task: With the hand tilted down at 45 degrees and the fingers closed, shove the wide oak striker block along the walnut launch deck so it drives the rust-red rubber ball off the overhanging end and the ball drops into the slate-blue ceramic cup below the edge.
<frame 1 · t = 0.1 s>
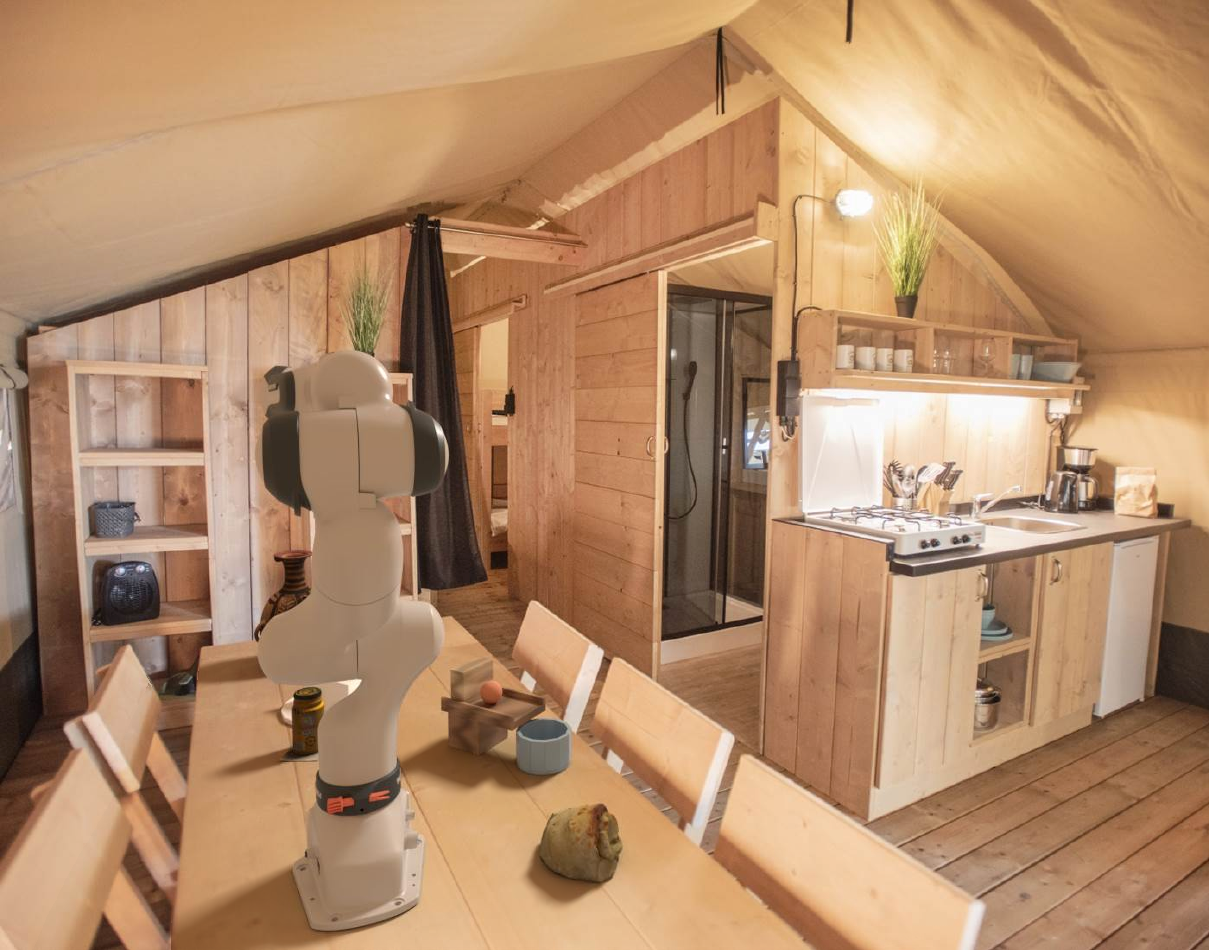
hand: (345, 516, 131), 48 cm above the table, tool pointing down, fingers open, 8 cm apart
pastry: (580, 857, 107), on the table
condiment: (306, 752, 140), on the table
cup: (544, 761, 136), on the table
vase: (297, 662, 190), on the table
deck: (493, 746, 142), on the table
ball: (491, 692, 141), point 11 cm above the table, touching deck
dish: (340, 707, 162), on the table
striker: (472, 697, 144), point 9 cm above the table, touching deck
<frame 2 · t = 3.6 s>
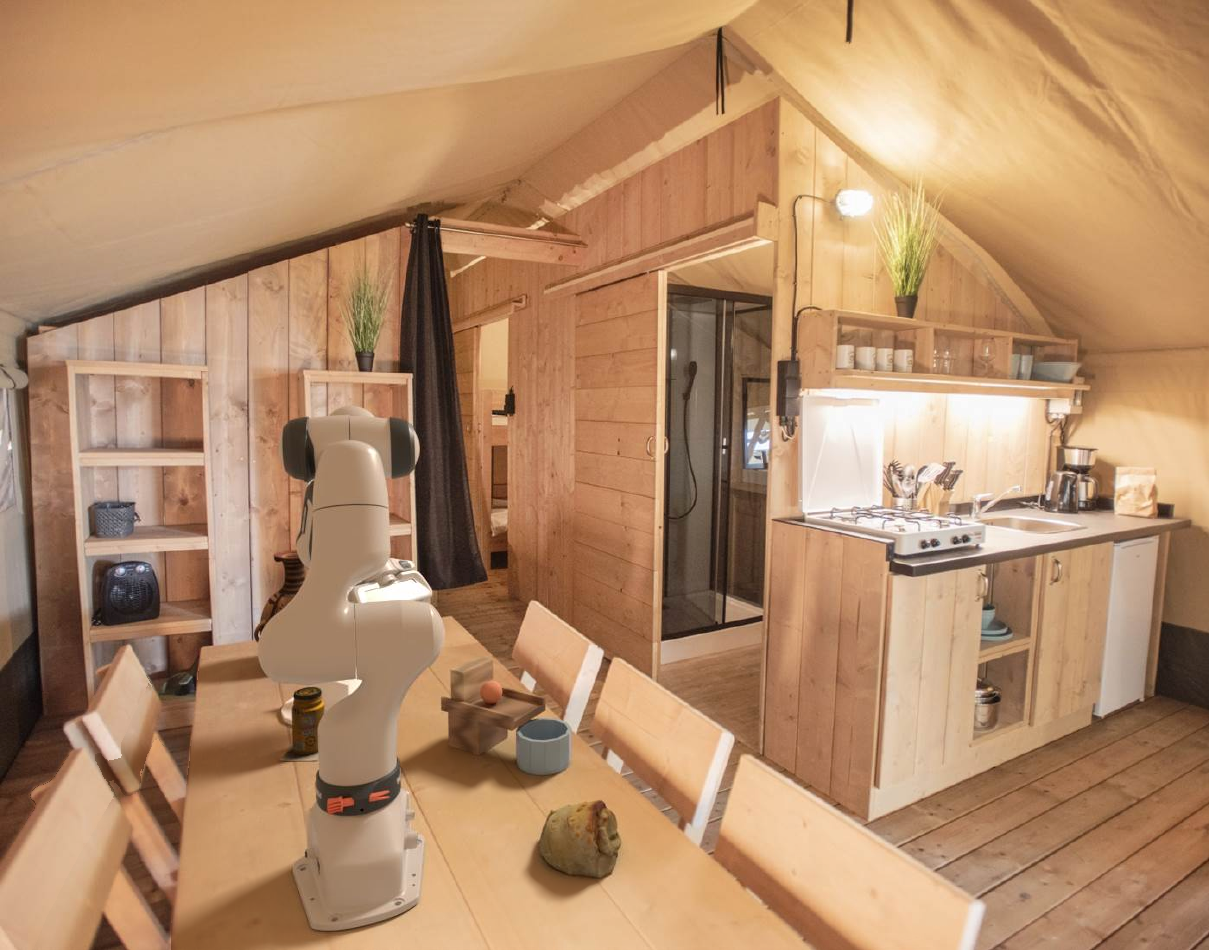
hand: (409, 626, 152), 21 cm above the table, tool tilted 45°, fingers closed
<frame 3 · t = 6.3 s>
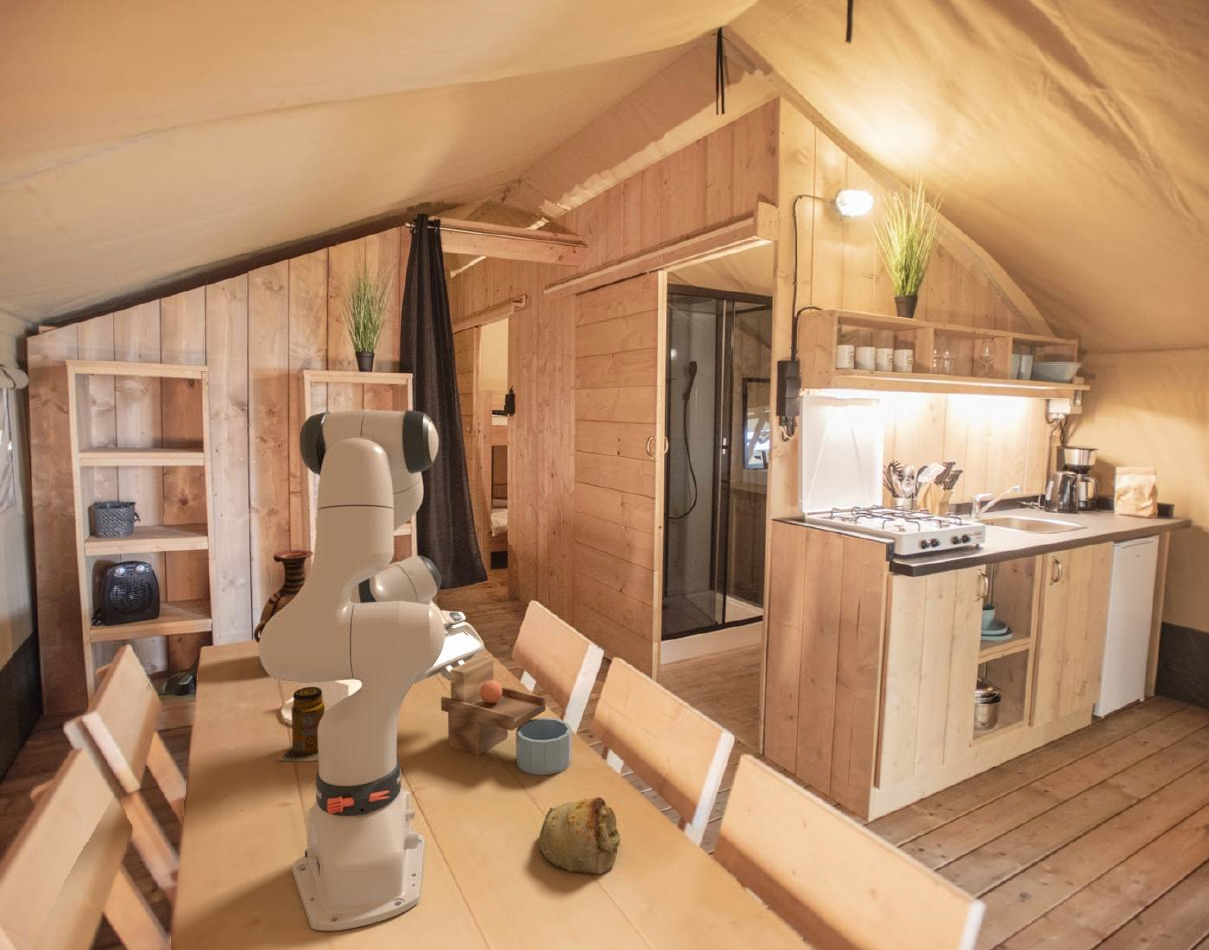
hand: (463, 684, 145), 11 cm above the table, tool tilted 45°, fingers closed, pressing on striker
striker: (472, 697, 144), point 9 cm above the table, touching gripper
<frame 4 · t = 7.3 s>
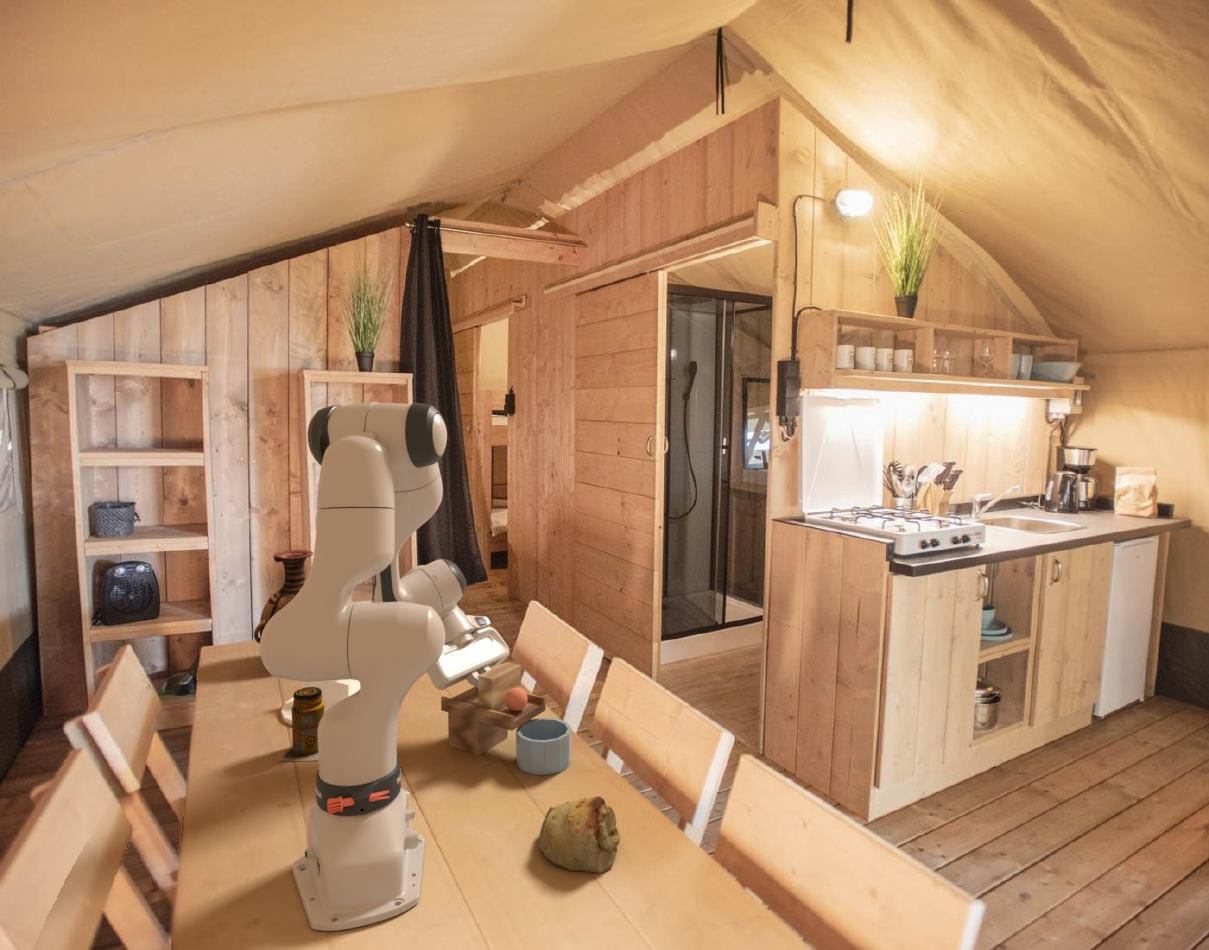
hand: (489, 690, 141), 11 cm above the table, tool tilted 45°, fingers closed, pressing on striker
ball: (516, 699, 138), point 11 cm above the table, tilted 171°, touching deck
striker: (500, 704, 141), point 9 cm above the table, touching gripper
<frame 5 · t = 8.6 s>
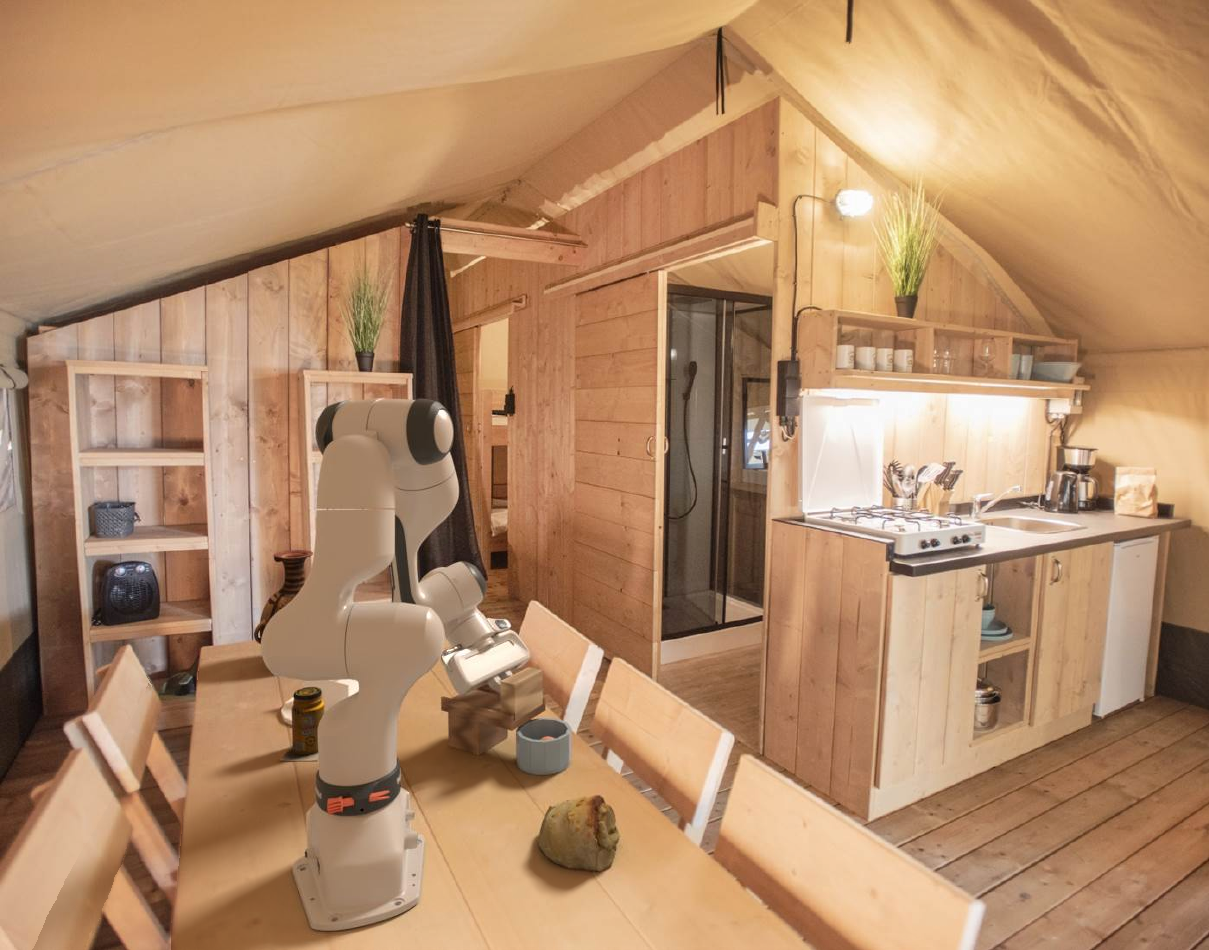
hand: (511, 695, 139), 12 cm above the table, tool tilted 45°, fingers closed, pressing on striker
ball: (547, 748, 135), point 3 cm above the table, tilted 46°, touching cup
striker: (522, 710, 138), point 9 cm above the table, touching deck, gripper
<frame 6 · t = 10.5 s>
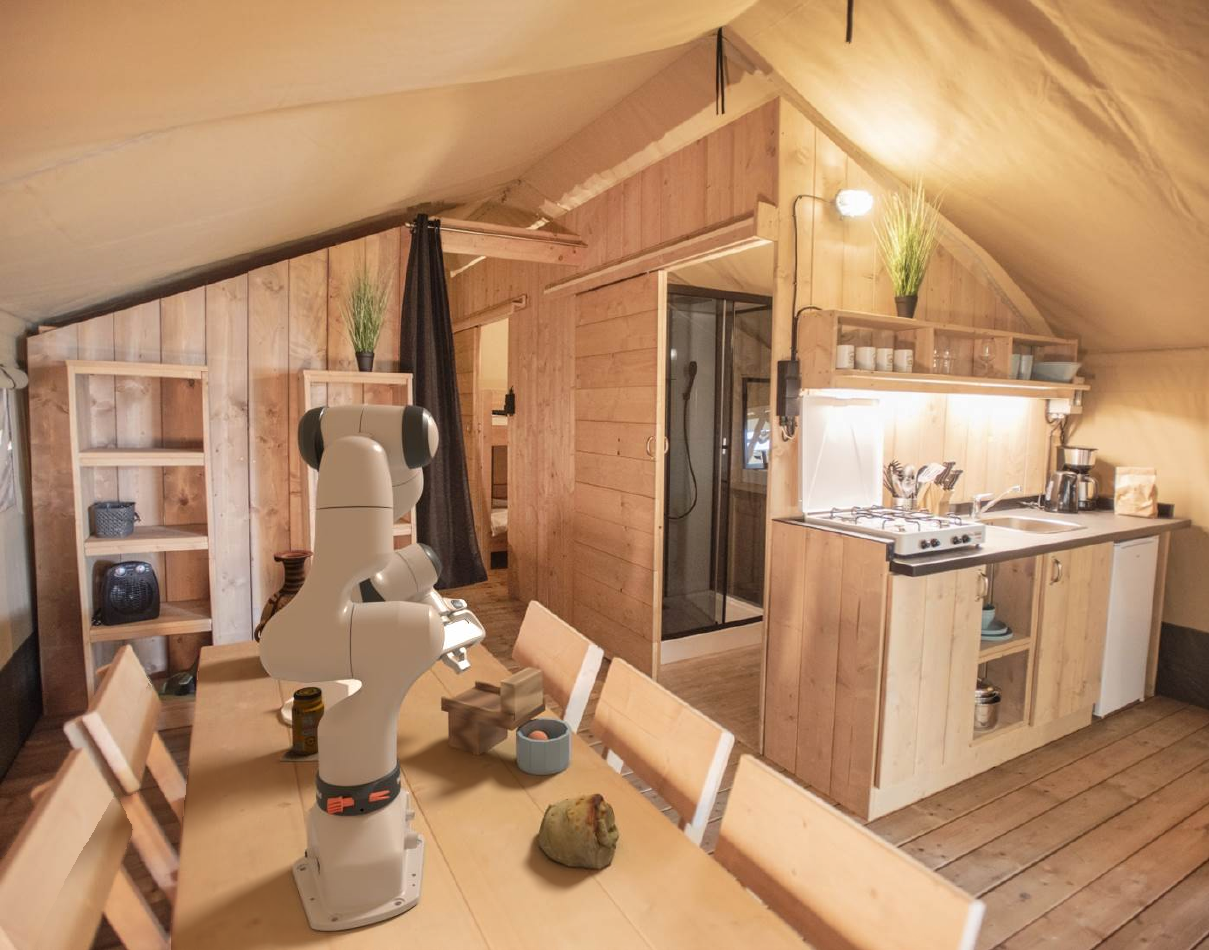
hand: (464, 671, 145), 14 cm above the table, tool tilted 45°, fingers closed
ball: (537, 742, 137), point 3 cm above the table, tilted 44°, touching cup
striker: (522, 710, 138), point 9 cm above the table, touching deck
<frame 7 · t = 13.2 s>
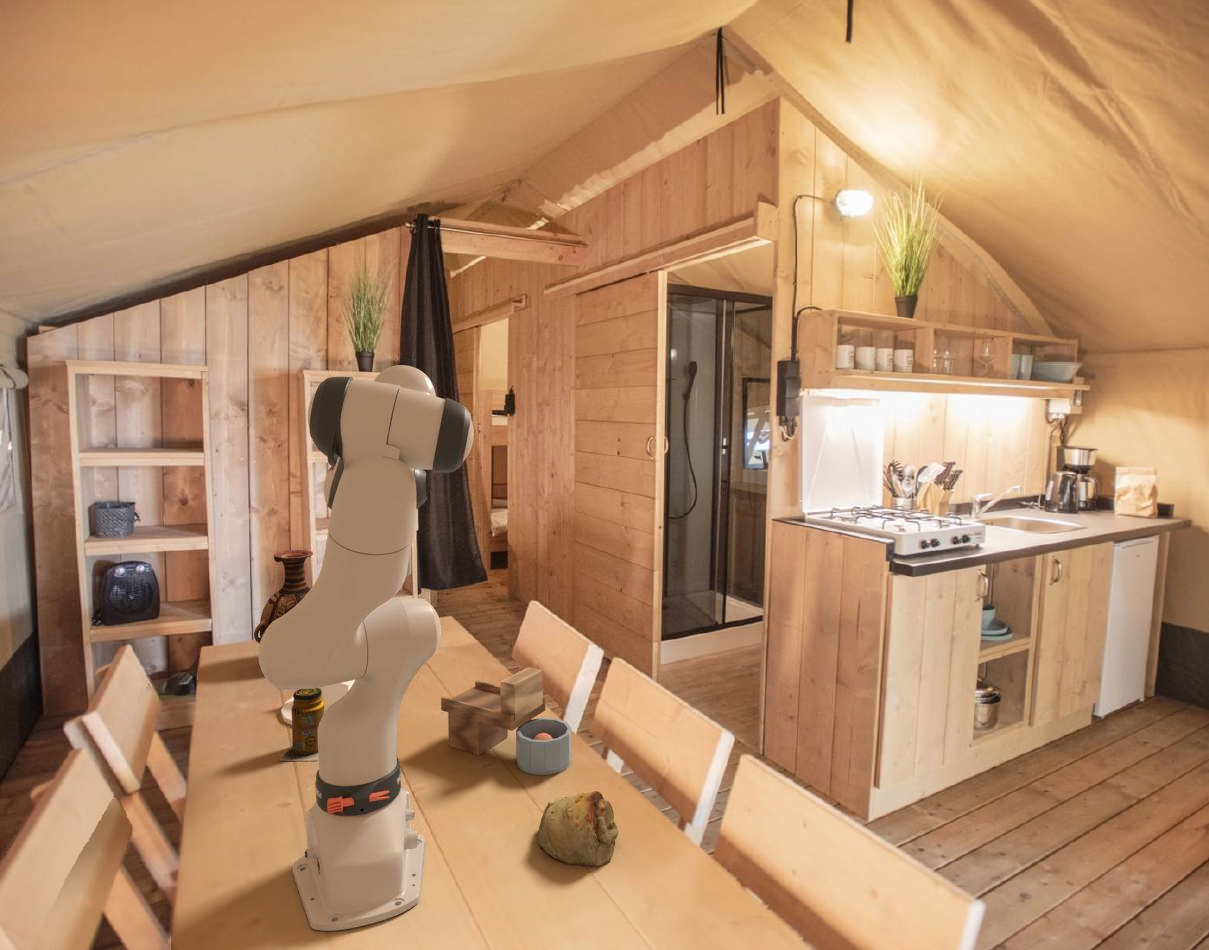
hand: (397, 589, 144), 31 cm above the table, tool pointing down, fingers closed
ball: (543, 745, 136), point 3 cm above the table, tilted 21°, touching cup
at the end: striker moved 12.6 cm from its start; ball 0.7 cm off-centre on the cup, point 3.0 cm above the cup's base; ball touching cup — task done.
